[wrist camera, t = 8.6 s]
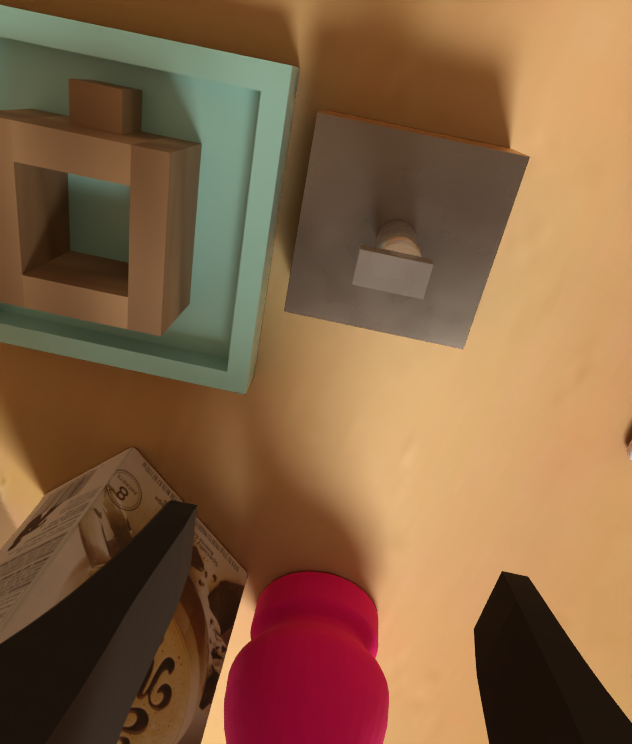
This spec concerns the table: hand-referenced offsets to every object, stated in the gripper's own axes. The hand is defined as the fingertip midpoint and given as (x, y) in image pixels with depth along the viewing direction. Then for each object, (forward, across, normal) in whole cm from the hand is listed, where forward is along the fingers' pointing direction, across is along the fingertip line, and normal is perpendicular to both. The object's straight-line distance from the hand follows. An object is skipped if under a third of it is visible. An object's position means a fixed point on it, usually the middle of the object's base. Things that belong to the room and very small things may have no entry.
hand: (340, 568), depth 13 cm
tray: (+10, +10, -4) cm, 14 cm away
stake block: (+10, 0, -6) cm, 12 cm away
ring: (+9, +10, -4) cm, 14 cm away
